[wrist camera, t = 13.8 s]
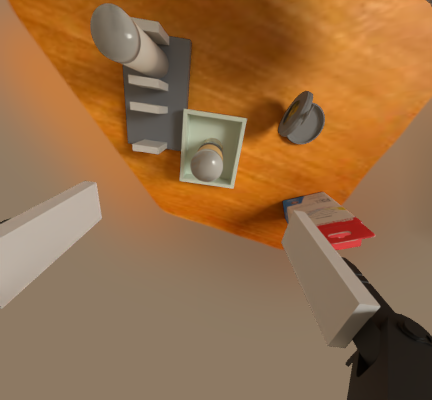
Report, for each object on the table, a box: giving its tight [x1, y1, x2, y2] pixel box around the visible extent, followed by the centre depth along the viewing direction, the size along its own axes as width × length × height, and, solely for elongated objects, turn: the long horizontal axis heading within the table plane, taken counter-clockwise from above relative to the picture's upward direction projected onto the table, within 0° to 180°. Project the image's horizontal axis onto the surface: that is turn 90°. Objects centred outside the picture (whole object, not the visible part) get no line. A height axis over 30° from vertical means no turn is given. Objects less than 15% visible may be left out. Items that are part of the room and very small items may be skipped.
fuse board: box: [123, 17, 192, 154], centre depth 28 cm, size 16×10×6 cm, turn 172°
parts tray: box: [180, 109, 247, 188], centre depth 33 cm, size 12×10×4 cm
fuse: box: [91, 3, 169, 79], centre depth 22 cm, size 4×4×12 cm
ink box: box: [283, 192, 375, 250], centre depth 33 cm, size 8×5×15 cm, turn 105°
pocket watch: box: [278, 91, 325, 144], centre depth 27 cm, size 8×8×10 cm
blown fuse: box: [190, 138, 223, 182], centre depth 29 cm, size 4×4×12 cm
